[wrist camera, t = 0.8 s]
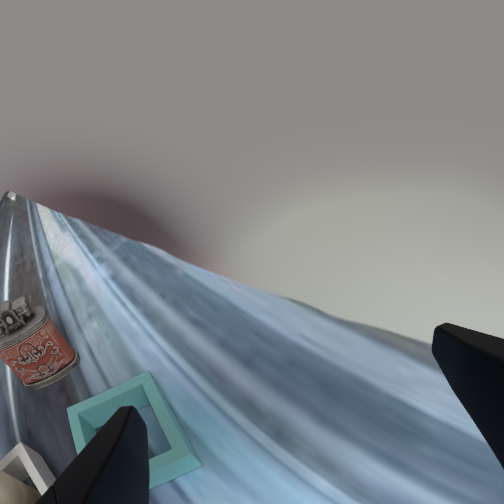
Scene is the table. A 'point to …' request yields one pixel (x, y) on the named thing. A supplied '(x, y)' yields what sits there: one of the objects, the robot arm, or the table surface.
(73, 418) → the teal socket
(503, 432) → the robot arm
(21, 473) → the grey socket
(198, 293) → the table surface
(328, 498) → the table surface
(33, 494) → the peg
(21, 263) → the table surface
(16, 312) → the lighter
